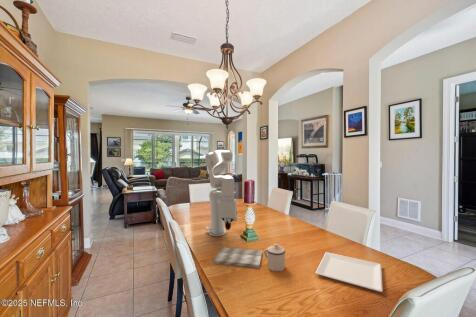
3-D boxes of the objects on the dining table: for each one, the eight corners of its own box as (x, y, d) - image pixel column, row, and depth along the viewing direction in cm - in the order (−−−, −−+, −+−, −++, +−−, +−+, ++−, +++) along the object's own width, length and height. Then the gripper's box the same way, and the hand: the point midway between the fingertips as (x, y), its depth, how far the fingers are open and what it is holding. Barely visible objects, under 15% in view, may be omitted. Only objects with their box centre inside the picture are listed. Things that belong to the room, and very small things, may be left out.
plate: (382, 296, 87) (382, 291, 87) (315, 277, 101) (315, 272, 101) (381, 267, 109) (381, 263, 109) (325, 255, 123) (325, 251, 123)
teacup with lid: (289, 267, 109) (288, 244, 109) (278, 274, 103) (277, 249, 103) (270, 259, 118) (270, 237, 118) (259, 264, 112) (258, 242, 111)
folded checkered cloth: (219, 254, 124) (219, 251, 124) (222, 249, 129) (222, 247, 129) (261, 258, 119) (261, 255, 119) (262, 253, 125) (262, 250, 124)
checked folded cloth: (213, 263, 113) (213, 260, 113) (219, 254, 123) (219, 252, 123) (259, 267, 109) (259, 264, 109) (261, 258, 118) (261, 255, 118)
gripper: (213, 198, 125) (213, 230, 125) (239, 200, 122) (239, 232, 122) (217, 196, 132) (217, 226, 133) (241, 197, 129) (241, 227, 130)
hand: (228, 229), depth 128 cm, fingers closed
